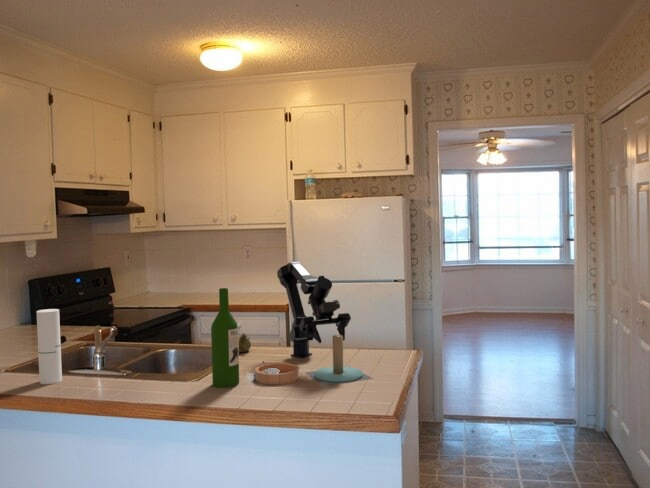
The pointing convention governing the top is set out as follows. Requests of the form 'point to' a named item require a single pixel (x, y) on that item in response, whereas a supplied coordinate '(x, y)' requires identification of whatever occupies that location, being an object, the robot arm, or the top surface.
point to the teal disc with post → (338, 366)
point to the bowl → (285, 375)
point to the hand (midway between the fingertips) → (332, 341)
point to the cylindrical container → (49, 346)
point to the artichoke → (244, 343)
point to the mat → (336, 382)
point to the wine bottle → (224, 345)
